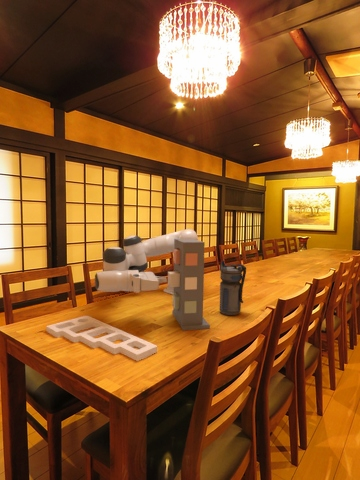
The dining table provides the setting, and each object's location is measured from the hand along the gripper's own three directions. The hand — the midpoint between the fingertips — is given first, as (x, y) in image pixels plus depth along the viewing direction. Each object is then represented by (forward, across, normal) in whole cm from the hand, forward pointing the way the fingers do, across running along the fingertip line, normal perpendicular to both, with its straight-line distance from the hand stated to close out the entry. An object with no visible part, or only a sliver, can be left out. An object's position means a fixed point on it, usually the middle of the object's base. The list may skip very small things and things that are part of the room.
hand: (166, 279), depth 129 cm
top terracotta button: (+7, 0, +7) cm, 10 cm away
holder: (-28, +15, -20) cm, 38 cm away
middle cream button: (+4, 0, -3) cm, 5 cm away
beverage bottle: (+34, -6, -19) cm, 39 cm away
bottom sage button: (+7, 0, -13) cm, 14 cm away
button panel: (+11, 0, -19) cm, 22 cm away
